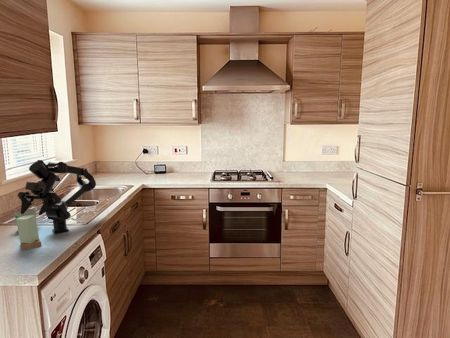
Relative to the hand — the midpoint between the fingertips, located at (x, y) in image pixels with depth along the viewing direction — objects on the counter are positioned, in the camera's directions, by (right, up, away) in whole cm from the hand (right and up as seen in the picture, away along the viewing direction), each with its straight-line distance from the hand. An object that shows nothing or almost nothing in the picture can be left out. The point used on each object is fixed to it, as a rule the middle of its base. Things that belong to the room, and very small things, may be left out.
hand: (30, 214), depth 141 cm
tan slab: (0, -14, +1) cm, 14 cm away
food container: (-15, -10, +24) cm, 30 cm away
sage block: (0, -12, 0) cm, 12 cm away
